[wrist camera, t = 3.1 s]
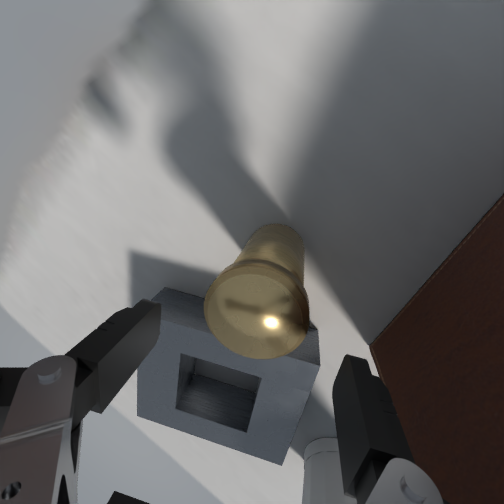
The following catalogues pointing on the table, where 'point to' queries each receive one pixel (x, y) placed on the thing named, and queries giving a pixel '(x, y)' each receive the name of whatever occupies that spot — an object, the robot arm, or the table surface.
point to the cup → (323, 474)
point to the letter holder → (454, 368)
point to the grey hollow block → (222, 384)
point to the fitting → (261, 296)
